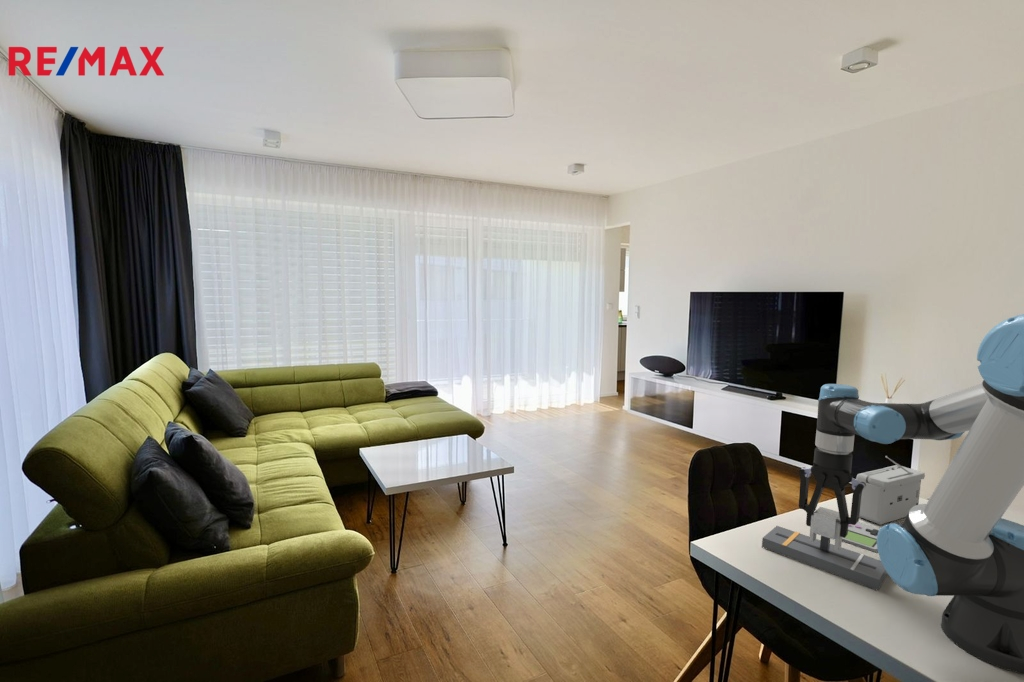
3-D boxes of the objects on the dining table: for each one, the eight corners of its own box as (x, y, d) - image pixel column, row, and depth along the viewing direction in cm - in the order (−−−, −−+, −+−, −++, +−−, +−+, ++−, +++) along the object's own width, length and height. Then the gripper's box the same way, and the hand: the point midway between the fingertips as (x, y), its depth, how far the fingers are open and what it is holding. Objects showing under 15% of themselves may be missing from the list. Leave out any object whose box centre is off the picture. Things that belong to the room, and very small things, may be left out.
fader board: (887, 573, 113) (888, 562, 113) (878, 590, 106) (879, 579, 106) (776, 534, 130) (776, 525, 130) (761, 547, 123) (762, 537, 123)
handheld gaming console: (890, 530, 132) (876, 548, 122) (890, 536, 132) (876, 554, 122) (847, 517, 139) (830, 533, 129) (846, 522, 140) (830, 539, 130)
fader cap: (838, 549, 118) (841, 512, 117) (832, 556, 114) (835, 519, 113) (817, 542, 121) (820, 506, 120) (810, 549, 118) (813, 512, 117)
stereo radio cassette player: (891, 504, 152) (897, 441, 150) (922, 515, 145) (929, 449, 143) (850, 515, 143) (856, 449, 141) (881, 528, 136) (888, 458, 134)
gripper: (882, 456, 111) (873, 553, 114) (797, 438, 124) (790, 526, 126) (875, 463, 106) (865, 565, 109) (787, 443, 119) (779, 535, 121)
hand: (825, 543), depth 118 cm, fingers closed on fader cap, 4 cm apart
